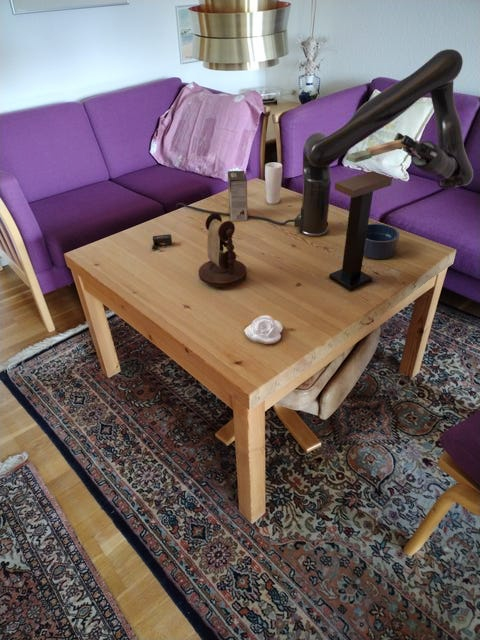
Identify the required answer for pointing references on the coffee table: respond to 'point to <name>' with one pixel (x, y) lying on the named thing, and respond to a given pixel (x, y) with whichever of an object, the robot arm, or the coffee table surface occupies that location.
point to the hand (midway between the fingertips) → (400, 137)
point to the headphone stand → (357, 226)
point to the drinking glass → (273, 182)
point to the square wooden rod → (375, 151)
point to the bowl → (381, 241)
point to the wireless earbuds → (161, 241)
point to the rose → (264, 330)
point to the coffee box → (237, 195)
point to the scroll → (221, 255)
